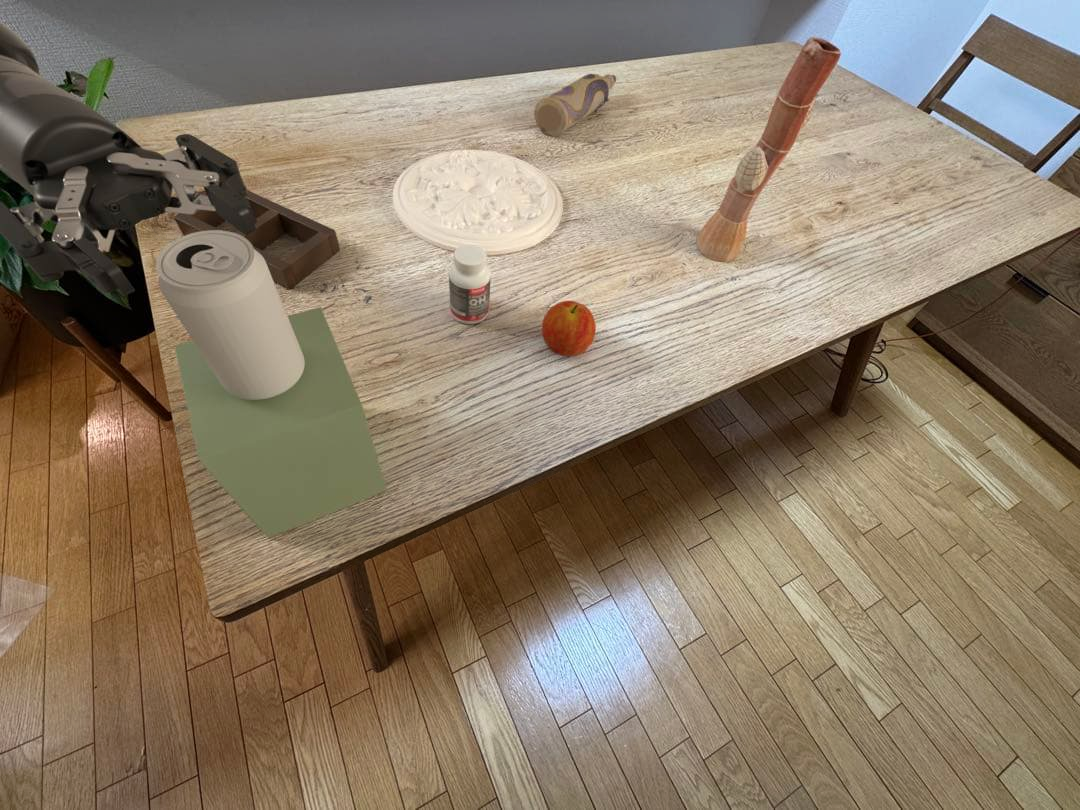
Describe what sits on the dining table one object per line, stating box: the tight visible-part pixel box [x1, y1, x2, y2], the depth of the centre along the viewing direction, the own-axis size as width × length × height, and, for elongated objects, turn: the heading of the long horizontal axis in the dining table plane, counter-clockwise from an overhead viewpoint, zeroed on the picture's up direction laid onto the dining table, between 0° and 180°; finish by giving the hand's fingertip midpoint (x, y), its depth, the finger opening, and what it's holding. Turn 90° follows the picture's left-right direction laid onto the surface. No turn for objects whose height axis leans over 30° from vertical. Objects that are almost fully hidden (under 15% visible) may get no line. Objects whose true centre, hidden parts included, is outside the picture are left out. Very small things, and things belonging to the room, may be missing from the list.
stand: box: [173, 306, 388, 539], centre depth 49 cm, size 12×12×16 cm
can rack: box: [173, 189, 341, 291], centre depth 73 cm, size 10×19×4 cm, turn 63°
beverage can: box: [155, 229, 305, 400], centre depth 37 cm, size 6×6×12 cm
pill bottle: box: [448, 245, 492, 325], centre depth 67 cm, size 5×5×10 cm
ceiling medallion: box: [392, 149, 564, 256], centre depth 85 cm, size 28×28×3 cm
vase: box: [695, 36, 842, 263], centre depth 74 cm, size 11×7×30 cm
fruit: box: [541, 300, 597, 357], centre depth 66 cm, size 7×7×8 cm
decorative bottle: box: [533, 73, 617, 137], centre depth 104 cm, size 26×8×7 cm, turn 145°
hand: (189, 250), depth 33 cm, fingers open, 8 cm apart
